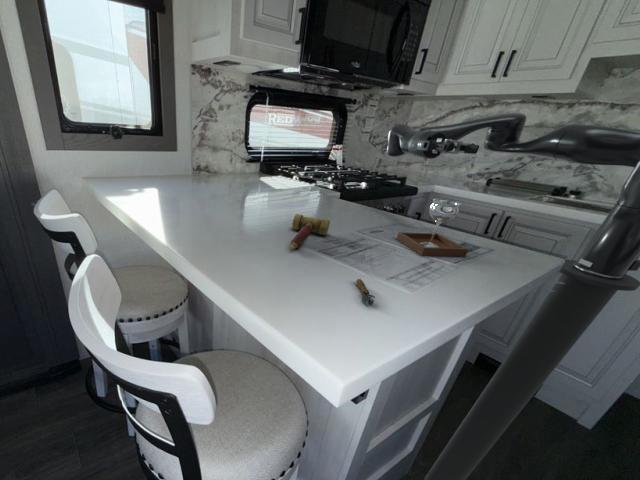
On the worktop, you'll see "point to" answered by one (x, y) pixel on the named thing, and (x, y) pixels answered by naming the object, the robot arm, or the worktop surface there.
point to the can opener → (365, 292)
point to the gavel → (307, 228)
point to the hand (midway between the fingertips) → (462, 148)
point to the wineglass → (441, 215)
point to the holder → (445, 244)
